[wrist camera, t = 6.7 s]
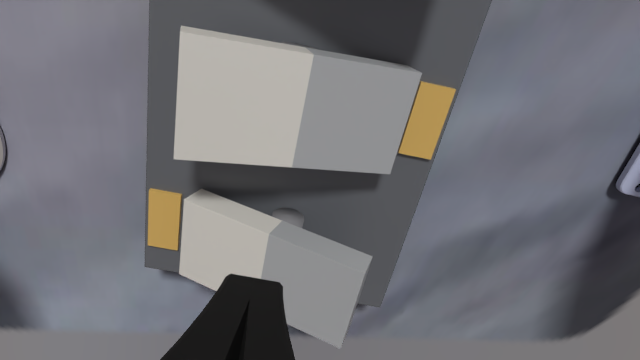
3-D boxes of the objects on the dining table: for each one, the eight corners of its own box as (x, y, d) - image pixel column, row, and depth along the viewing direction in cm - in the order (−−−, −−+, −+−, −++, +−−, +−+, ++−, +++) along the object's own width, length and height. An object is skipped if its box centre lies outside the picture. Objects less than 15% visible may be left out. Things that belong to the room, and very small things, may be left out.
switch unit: (523, -161, 14) (564, -192, 12) (374, 275, 23) (380, 310, 20) (184, -253, 13) (151, -308, 11) (163, 238, 22) (142, 269, 19)
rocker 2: (380, 240, 17) (365, 273, 15) (357, 309, 19) (340, 348, 16) (219, 178, 19) (183, 199, 16) (211, 246, 20) (179, 273, 18)
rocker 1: (391, 57, 16) (422, 73, 14) (366, 148, 18) (390, 174, 16) (182, 19, 13) (179, 31, 11) (176, 130, 15) (173, 159, 13)
